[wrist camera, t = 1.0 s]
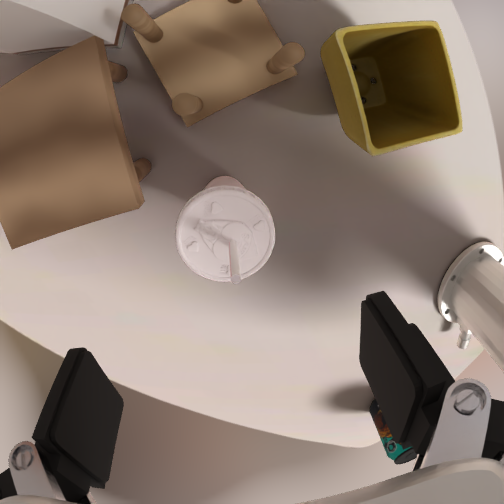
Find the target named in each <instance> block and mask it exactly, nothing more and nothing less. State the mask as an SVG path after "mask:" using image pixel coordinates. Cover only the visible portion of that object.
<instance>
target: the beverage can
mask: <svg viewBox="0 0 504 504" xmlns="http://www.w3.org/2000/svg"><path fill="white" fill-rule="evenodd" d="M370 413H371V416H372V418H373V421H374V423H375V426H376V428H377V431H378V433H379V436H380V438H381V441H382V443H383V446H384V448H385V451H386V453H387V456H388V457H389V458H391V459H392V460H394V462H395V464H403V463H406V462H409V461H411V460H413V459H415V458H417V455H418V454H416V453H415V451H414V449H413V447H412V446H411V447H409V448H406V449H404V450H403V448H402V446H401V443H398V444H396V443H395V442H394V440H393V438H392V435H391V433H390V430H389V428H388V426H387V423H386V421H385V419H384V417H383V414H382V412H381V410H380V407H379V405H378V403H377V401H376V399H375V400H374V401H373V402H372V405H371V407H370Z"/></svg>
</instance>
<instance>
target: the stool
mask: <svg viewBox="0 0 504 504" xmlns="http://www.w3.org/2000/svg"><path fill="white" fill-rule="evenodd" d="M126 77H127V69H126V68H125V67H124V66H122V65H119V64H116V63H113V62H110V61H108V60H107V55H106V50H105V45H104V40H103V39H101V38H99V37H97V36H95V35H94V36H92V37H90V38H88V39H85V40H83V41H81V42H79V43H77V44H75V45H73V46H71V47H69V48H66V49H65V50H63V51H61V52H59V53H57V54H55V55H53V56H51V57H49V58H47V59H46V60H44V61H42V62H40V63H39V64H37V65H35V66H33V67H32V68H30V69H28V70H27V71H25V72H23V73H22V74H20V75H19V76H17V77H15V78H14V79H12V80H11V81H9V82H8V83H6V84H5V85H3V86H2V87H0V222H1V224H2V227H3V229H4V232H5V234H6V237H7V239H8V241H9V244H10V246H11V248H12V249H15V248H17V247H20V246H23V245H26V244H28V243H31V242H34V241H37V240H40V239H43V238H46V237H48V236H51V235H54V234H57V233H60V232H63V231H66V230H69V229H73V228H76V227H79V226H82V225H85V224H88V223H91V222H95V221H98V220H101V219H104V218H108V217H111V216H114V215H118V214H121V213H125V212H128V211H132V210H135V209H139V208H140V207H141V205H142V204H143V203H144V201H145V200H144V197H143V194H142V191H141V187H140V184H139V182H140V181H141V180H142V179H143V178H144V177H145V176H146V175H147V174H148V173H149V172H150V170H151V163H150V161H149V160H147V159H145V158H141V159H138V160H137V161H135V162H134V163H133V161H132V157H131V154H130V150H129V147H128V143H127V139H126V136H125V132H124V128H123V124H122V120H121V116H120V112H119V108H118V104H117V100H116V96H115V92H114V88H113V83H112V82H122V81H123V80H124V79H125V78H126Z"/></svg>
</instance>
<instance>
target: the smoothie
mask: <svg viewBox="0 0 504 504" xmlns="http://www.w3.org/2000/svg"><path fill="white" fill-rule="evenodd" d="M175 239H176V246H177V249H178V252H179V254H180V256H181V258H182V260H183V261H184V263H185V264H186V265H187V266H188V267H189V268H190V269H191V270H192V271H194V272H195V273H197V274H198V275H200V276H202V277H204V278H207V279H210V280H214V281H220V282H230V281H231V282H232V283H234V284H238V283H240V282H241V279H243V278H246V277H248V276H250V275H252V274H254V273H255V272H256V271H258V270H259V269H260V268H261V267H262V266H263V265H264V264H265V263H266V262H267V260H268V259H269V257H270V255H271V253H272V251H273V248H274V244H275V227H274V222H273V219H272V216H271V214H270V211H269V209H268V208H267V206H266V205H265V204H264V202H263V201H262V200H261V199H260V198H259V197H257V196H256V195H255V194H253V193H252V192H250V191H248V190H246V189H245V188H244V187H243V185H242V184H241V183H240V182H239V181H238V180H237V179H235V178H233V177H230V176H220V177H217V178H215V179H213V180H212V181H210V182H209V184H208V185H207V186H206V187H205V188H204V190H203V191H201V192H199V193H197V194H196V195H195V196H193V197H192V198H191V199H190V200H188V202H187V203H186V204H185V206H184V207H183V209H182V210H181V212H180V214H179V217H178V220H177V224H176V232H175Z"/></svg>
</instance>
